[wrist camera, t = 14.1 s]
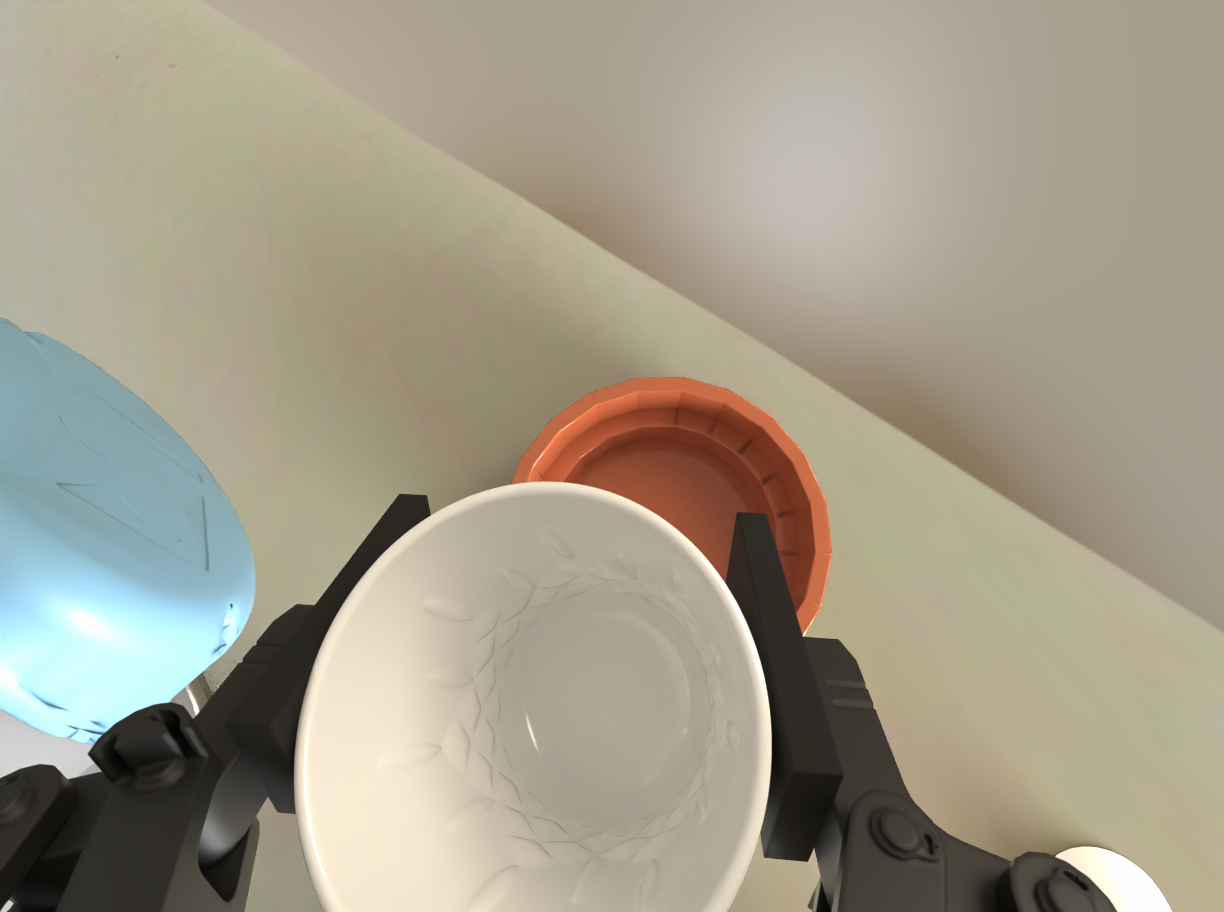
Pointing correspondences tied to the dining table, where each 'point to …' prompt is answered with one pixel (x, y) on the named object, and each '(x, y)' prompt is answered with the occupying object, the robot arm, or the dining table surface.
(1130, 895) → the champagne flute
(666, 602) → the white cup
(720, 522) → the terracotta bowl
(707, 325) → the dining table surface
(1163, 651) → the dining table surface
